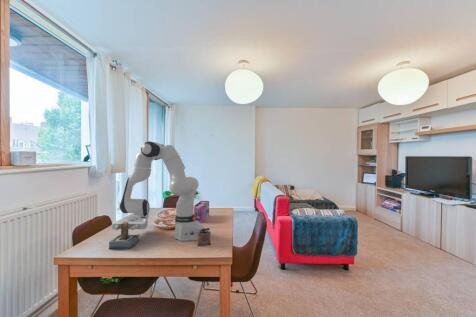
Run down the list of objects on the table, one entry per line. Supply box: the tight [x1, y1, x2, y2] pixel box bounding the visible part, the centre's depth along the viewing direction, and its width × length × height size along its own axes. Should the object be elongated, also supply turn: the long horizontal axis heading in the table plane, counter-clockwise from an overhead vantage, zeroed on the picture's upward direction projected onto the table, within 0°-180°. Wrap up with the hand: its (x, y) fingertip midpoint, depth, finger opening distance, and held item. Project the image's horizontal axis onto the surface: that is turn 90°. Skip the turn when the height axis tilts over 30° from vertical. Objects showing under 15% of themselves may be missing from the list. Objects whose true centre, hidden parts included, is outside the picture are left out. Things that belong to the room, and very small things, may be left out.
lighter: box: [197, 227, 212, 247], centre depth 140 cm, size 8×3×10 cm, turn 114°
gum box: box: [193, 200, 210, 224], centre depth 196 cm, size 24×8×14 cm, turn 174°
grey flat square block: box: [108, 234, 140, 250], centre depth 138 cm, size 12×12×4 cm
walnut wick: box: [120, 222, 129, 240], centre depth 138 cm, size 2×4×12 cm, turn 2°
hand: (124, 228), depth 137 cm, fingers open, 8 cm apart
